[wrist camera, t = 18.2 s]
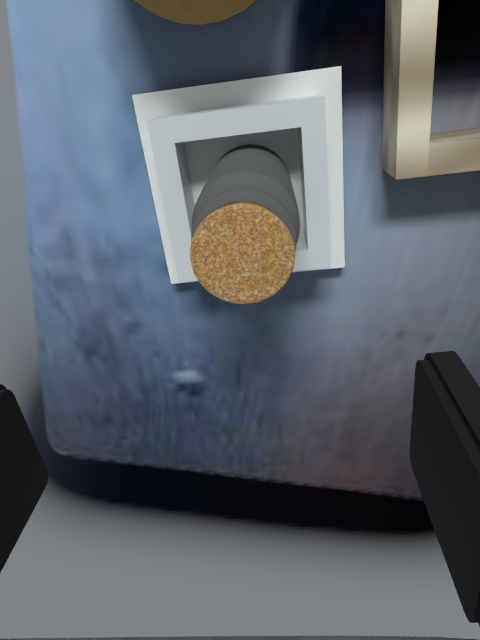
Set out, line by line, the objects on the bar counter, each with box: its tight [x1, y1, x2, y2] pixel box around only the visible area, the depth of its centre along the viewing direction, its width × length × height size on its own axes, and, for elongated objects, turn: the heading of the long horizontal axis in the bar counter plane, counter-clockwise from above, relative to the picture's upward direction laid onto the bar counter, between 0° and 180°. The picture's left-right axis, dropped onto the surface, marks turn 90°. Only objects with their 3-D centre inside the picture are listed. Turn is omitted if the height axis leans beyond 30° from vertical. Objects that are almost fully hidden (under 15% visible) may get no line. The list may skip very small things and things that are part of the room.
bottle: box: [190, 144, 300, 304], centre depth 27 cm, size 6×6×15 cm
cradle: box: [132, 66, 345, 284], centre depth 33 cm, size 14×14×5 cm
